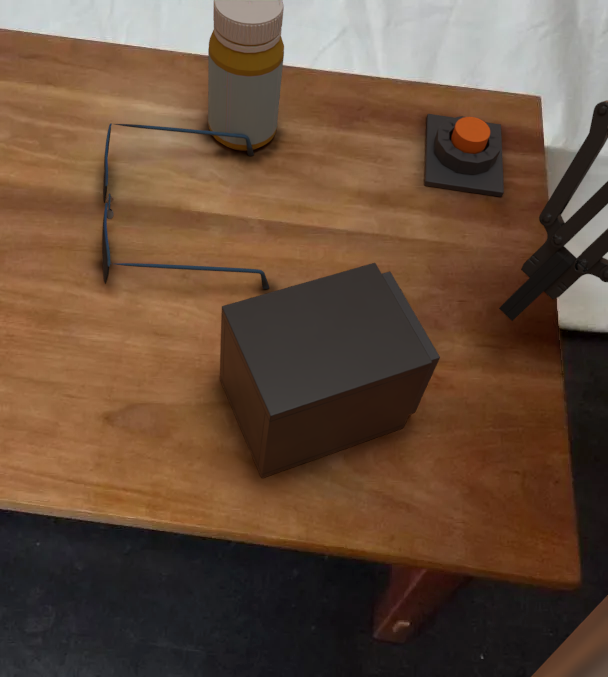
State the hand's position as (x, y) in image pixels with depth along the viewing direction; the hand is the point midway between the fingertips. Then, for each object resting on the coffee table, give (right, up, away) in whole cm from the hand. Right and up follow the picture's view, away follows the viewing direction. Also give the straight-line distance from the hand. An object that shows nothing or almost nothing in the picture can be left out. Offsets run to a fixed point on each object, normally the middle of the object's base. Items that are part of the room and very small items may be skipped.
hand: (509, 310), depth 68 cm
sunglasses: (-28, +9, +10) cm, 31 cm away
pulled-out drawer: (-14, -7, +1) cm, 16 cm away
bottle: (-23, +19, +17) cm, 35 cm away
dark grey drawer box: (-16, -8, +1) cm, 18 cm away
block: (0, +17, +18) cm, 25 cm away
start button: (0, +18, +17) cm, 24 cm away
